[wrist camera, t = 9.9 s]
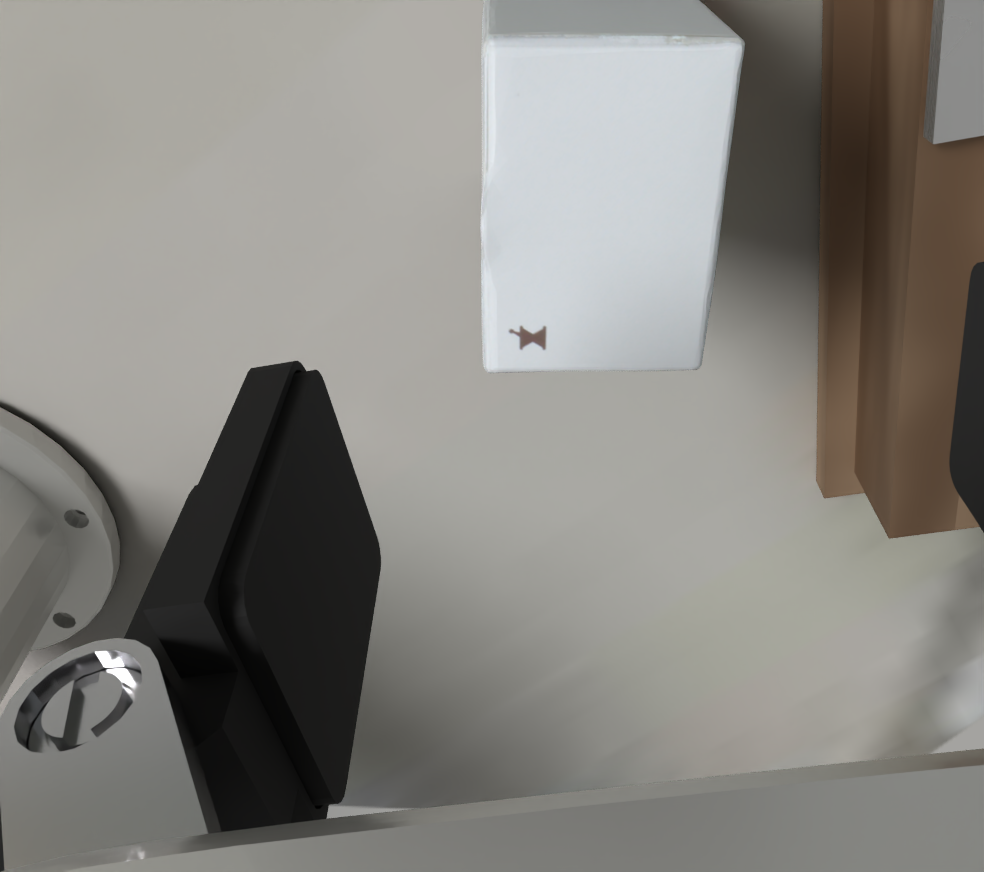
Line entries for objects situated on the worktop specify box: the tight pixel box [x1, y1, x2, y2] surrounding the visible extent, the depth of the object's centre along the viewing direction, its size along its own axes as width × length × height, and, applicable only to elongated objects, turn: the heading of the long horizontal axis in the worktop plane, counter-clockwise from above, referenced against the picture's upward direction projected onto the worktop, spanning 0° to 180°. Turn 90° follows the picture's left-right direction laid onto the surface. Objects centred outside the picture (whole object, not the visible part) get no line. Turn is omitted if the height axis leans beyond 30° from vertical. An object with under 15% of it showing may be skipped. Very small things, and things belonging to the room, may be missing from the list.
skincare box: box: [480, 0, 745, 373], centre depth 20 cm, size 6×4×12 cm
